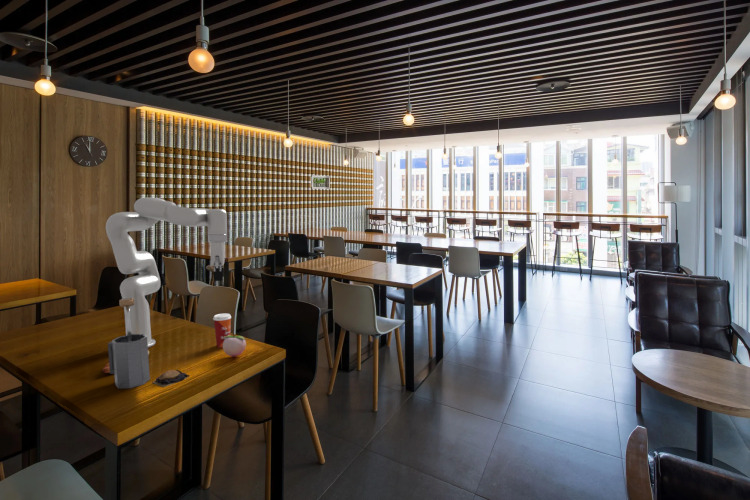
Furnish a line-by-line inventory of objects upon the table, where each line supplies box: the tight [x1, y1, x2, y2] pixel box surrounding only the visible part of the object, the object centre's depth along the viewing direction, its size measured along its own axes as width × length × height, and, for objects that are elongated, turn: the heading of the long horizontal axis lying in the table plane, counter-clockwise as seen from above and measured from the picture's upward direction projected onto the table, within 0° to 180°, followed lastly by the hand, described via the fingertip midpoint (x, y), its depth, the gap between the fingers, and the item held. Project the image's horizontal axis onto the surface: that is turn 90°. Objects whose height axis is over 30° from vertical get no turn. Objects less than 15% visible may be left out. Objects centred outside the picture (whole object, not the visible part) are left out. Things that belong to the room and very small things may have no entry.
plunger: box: [118, 298, 135, 342], centre depth 136 cm, size 8×8×18 cm
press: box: [107, 334, 151, 389], centre depth 137 cm, size 12×10×16 cm
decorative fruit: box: [222, 333, 247, 358], centre depth 160 cm, size 9×8×10 cm
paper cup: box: [212, 313, 232, 349], centre depth 174 cm, size 8×8×14 cm
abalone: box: [152, 369, 190, 388], centre depth 140 cm, size 11×8×4 cm
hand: (219, 278), depth 165 cm, fingers open, 9 cm apart
